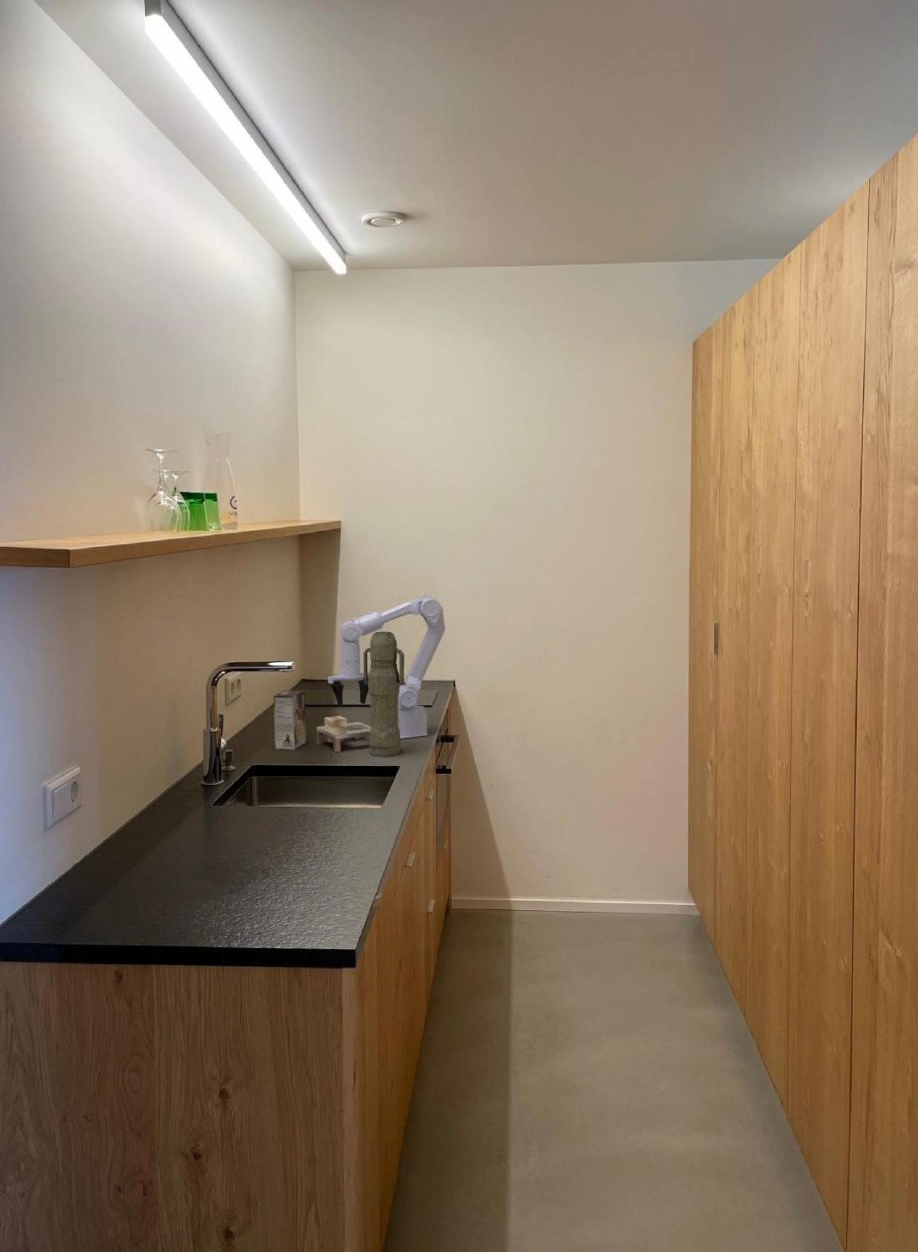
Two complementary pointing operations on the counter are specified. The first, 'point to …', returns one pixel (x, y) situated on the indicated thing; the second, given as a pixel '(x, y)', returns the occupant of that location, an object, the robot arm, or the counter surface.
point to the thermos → (384, 693)
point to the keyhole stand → (343, 733)
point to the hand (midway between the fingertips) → (351, 704)
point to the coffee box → (289, 719)
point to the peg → (335, 726)
